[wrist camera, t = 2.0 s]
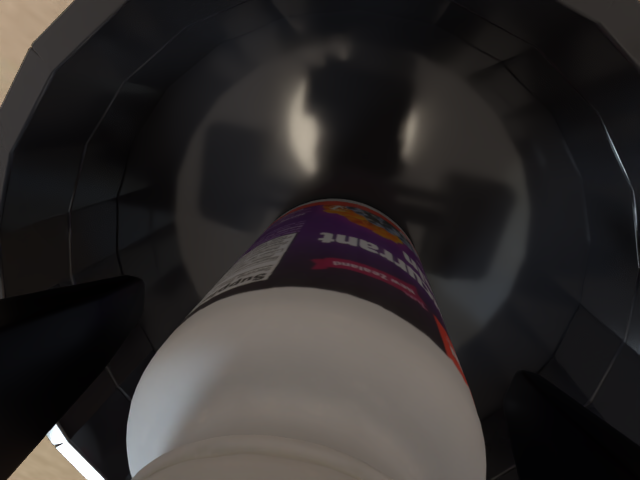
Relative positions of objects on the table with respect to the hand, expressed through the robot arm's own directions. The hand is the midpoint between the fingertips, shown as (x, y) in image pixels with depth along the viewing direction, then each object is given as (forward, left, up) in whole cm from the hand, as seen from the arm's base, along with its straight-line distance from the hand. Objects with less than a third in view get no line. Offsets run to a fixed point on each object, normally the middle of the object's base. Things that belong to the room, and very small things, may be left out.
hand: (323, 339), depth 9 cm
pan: (0, 0, -4) cm, 4 cm away
